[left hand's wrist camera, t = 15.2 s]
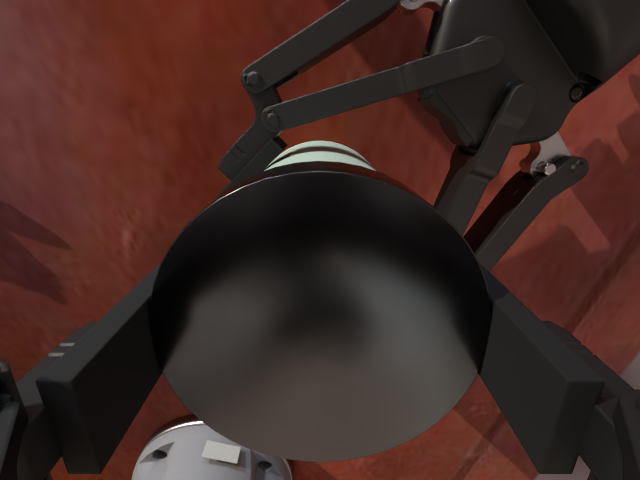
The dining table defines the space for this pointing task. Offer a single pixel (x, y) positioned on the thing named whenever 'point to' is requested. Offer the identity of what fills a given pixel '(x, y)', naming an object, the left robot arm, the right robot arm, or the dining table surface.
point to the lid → (320, 313)
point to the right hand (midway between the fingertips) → (267, 282)
